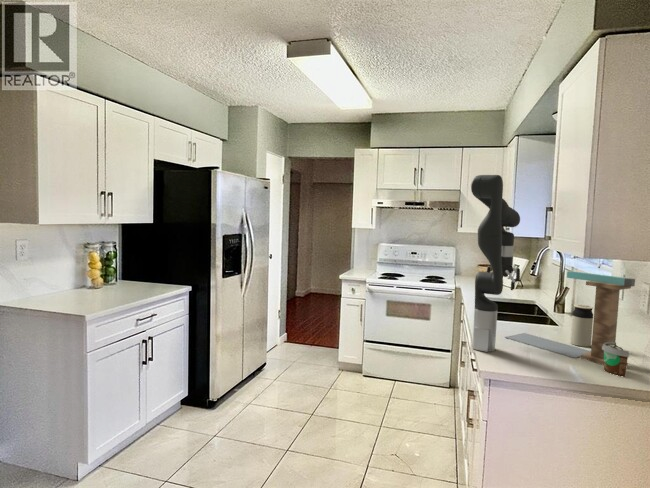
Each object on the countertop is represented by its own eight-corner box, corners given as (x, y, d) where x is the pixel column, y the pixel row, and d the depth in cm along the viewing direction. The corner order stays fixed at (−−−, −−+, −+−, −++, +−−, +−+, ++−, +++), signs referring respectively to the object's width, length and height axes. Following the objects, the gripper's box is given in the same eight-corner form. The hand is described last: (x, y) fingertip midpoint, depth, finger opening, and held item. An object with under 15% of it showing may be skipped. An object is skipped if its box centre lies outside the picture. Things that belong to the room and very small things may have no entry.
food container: (595, 364, 160) (597, 339, 159) (613, 366, 158) (615, 341, 158) (607, 376, 148) (609, 349, 148) (626, 378, 146) (629, 351, 146)
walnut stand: (625, 363, 163) (631, 284, 161) (612, 367, 157) (618, 286, 155) (592, 354, 173) (598, 280, 171) (579, 358, 167) (585, 281, 165)
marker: (634, 286, 157) (635, 278, 157) (631, 286, 155) (631, 279, 155) (570, 277, 177) (570, 271, 177) (566, 277, 176) (567, 271, 175)
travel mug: (595, 347, 184) (598, 308, 182) (579, 347, 182) (582, 308, 181) (581, 341, 191) (584, 304, 190) (566, 342, 190) (569, 304, 189)
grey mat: (594, 352, 175) (594, 352, 175) (575, 358, 167) (575, 357, 167) (524, 333, 202) (524, 332, 202) (504, 337, 194) (504, 336, 194)
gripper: (488, 255, 184) (486, 289, 187) (522, 257, 181) (519, 292, 183) (486, 252, 192) (484, 286, 194) (519, 254, 188) (517, 288, 190)
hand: (501, 289), depth 188 cm, fingers open, 8 cm apart
